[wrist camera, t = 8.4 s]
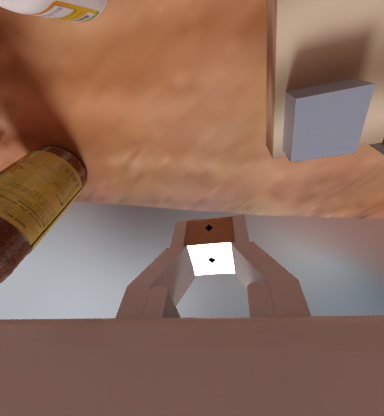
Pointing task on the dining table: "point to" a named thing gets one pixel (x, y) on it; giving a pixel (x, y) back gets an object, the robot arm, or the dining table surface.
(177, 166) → the dining table surface
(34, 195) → the sauce bottle
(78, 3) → the supplement bottle
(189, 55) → the dining table surface
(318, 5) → the board
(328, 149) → the tile
